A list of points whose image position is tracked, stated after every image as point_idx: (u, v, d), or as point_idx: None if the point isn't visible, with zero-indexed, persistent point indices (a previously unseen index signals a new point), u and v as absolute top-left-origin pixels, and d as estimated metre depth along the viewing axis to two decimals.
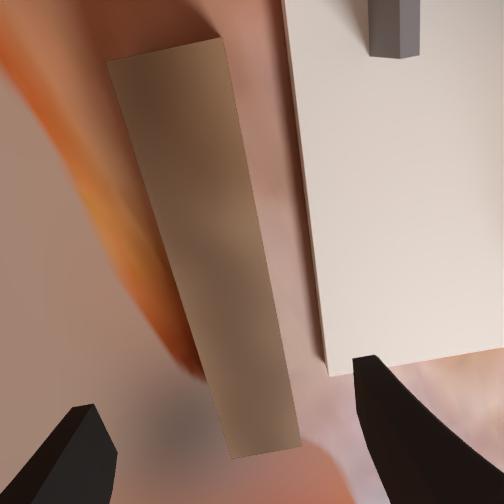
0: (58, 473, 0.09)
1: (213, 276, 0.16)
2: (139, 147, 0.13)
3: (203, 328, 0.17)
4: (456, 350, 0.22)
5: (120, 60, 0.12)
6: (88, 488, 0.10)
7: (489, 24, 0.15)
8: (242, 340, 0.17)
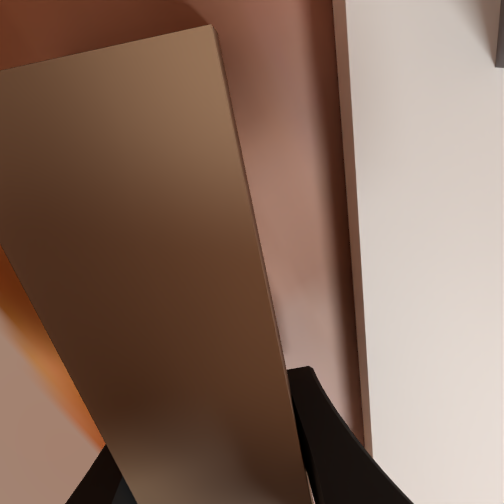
0: None
1: (202, 480, 0.08)
2: (30, 272, 0.06)
3: None
4: None
5: None
6: None
7: None
8: None
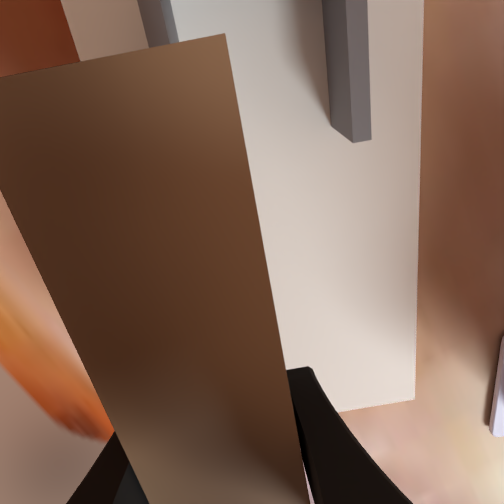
0: None
1: (203, 465, 0.09)
2: (48, 261, 0.06)
3: None
4: None
5: None
6: None
7: (300, 123, 0.16)
8: None
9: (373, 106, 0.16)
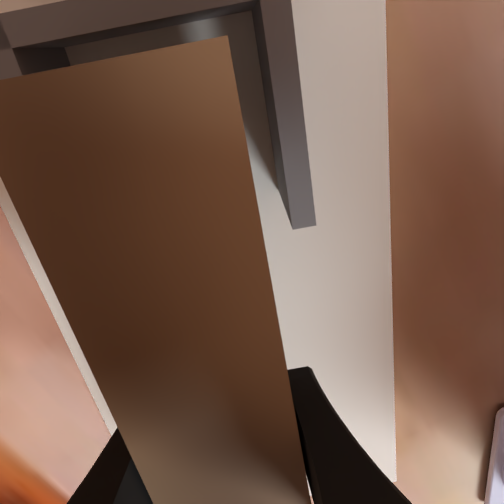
0: None
1: (205, 461, 0.09)
2: (53, 259, 0.06)
3: None
4: None
5: None
6: None
7: None
8: None
9: (330, 168, 0.13)
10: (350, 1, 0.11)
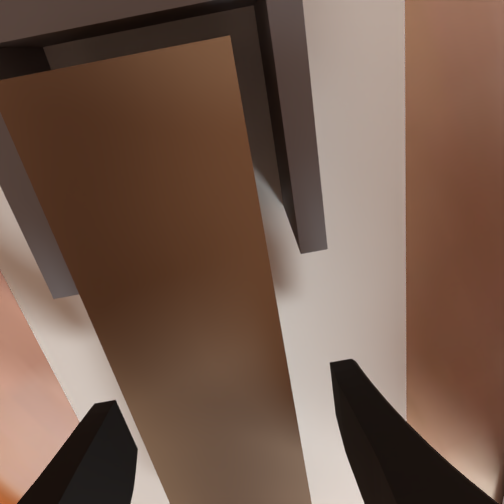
0: (85, 468, 0.09)
1: (207, 436, 0.09)
2: (68, 241, 0.07)
3: (191, 502, 0.10)
4: None
5: (19, 80, 0.06)
6: (112, 484, 0.10)
7: None
8: None
9: (340, 181, 0.12)
10: None
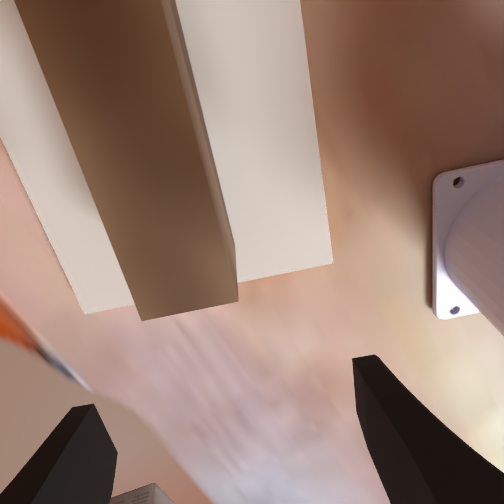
0: (58, 473, 0.09)
1: None
2: None
3: (66, 78, 0.11)
4: None
5: None
6: (88, 488, 0.10)
7: None
8: (128, 104, 0.11)
9: None
10: None
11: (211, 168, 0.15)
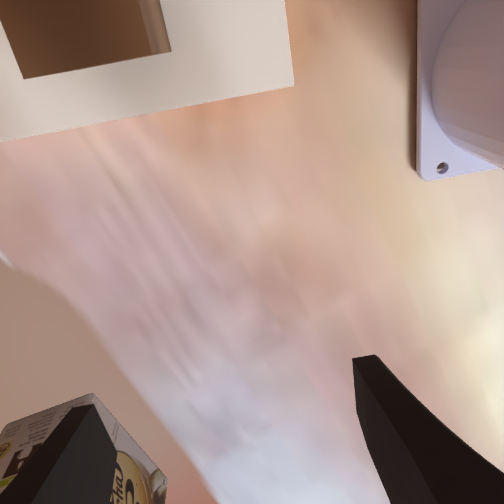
0: (58, 473, 0.09)
1: None
2: None
3: None
4: (161, 101, 0.16)
5: None
6: (88, 488, 0.10)
7: None
8: None
9: None
10: None
11: None
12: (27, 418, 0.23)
